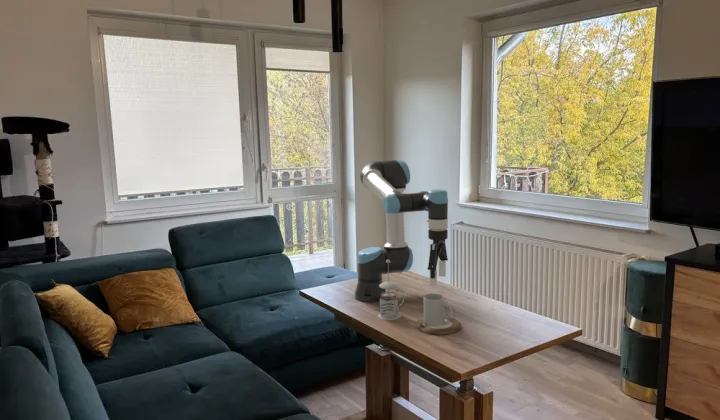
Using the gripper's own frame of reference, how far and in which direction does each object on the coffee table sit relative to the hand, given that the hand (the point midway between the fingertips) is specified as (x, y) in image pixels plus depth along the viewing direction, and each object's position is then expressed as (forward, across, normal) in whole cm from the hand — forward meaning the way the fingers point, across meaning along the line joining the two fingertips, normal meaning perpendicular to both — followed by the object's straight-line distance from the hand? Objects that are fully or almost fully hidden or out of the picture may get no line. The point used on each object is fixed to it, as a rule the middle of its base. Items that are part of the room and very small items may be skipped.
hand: (437, 280), depth 209 cm
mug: (+18, +1, 0) cm, 18 cm away
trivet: (+19, +1, 0) cm, 19 cm away
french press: (+19, -4, -22) cm, 29 cm away
